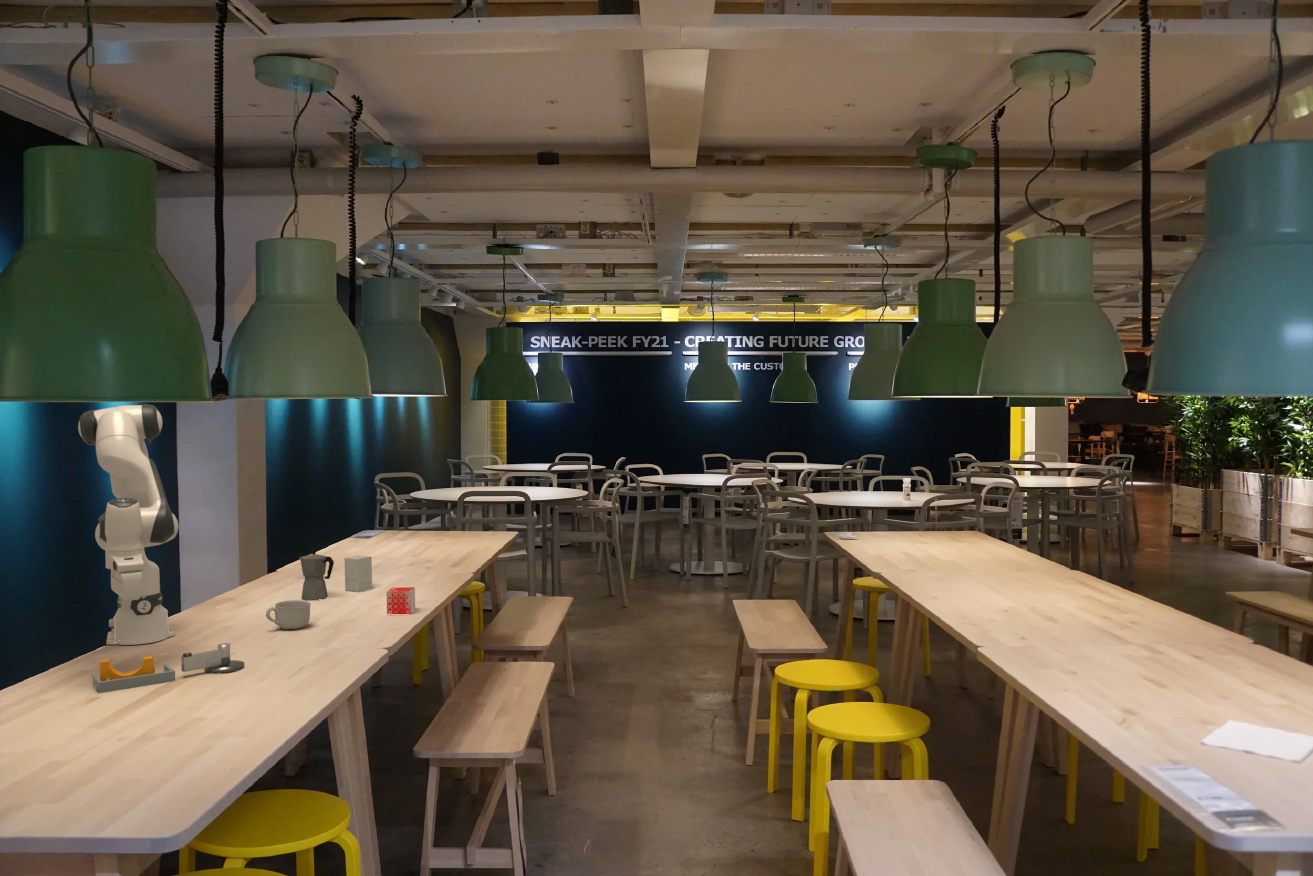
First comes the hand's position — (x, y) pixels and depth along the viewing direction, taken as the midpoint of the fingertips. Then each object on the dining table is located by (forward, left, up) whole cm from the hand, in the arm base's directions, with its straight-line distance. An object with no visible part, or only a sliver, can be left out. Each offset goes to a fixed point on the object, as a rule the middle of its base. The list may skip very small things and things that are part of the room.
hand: (125, 612), depth 271 cm
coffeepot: (-71, +75, -17) cm, 105 cm away
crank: (+11, +17, -16) cm, 26 cm away
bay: (+9, 0, -17) cm, 19 cm away
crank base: (+10, +22, -17) cm, 29 cm away
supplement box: (-77, +93, -17) cm, 122 cm away
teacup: (-28, +51, -17) cm, 61 cm away
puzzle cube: (-28, +89, -17) cm, 95 cm away
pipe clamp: (+8, -1, -17) cm, 19 cm away
